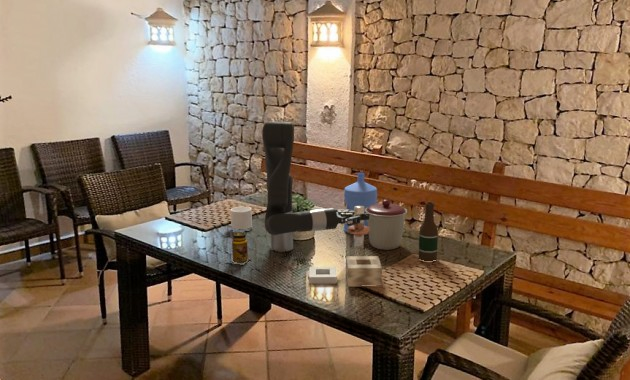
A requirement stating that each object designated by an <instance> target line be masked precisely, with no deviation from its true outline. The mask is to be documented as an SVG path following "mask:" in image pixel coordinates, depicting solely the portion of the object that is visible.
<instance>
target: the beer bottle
mask: <svg viewBox="0 0 630 380" xmlns="http://www.w3.org/2000/svg"><path fill="white" fill-rule="evenodd" d="M424 206H425V212H424V219H423V222H422V223H421V225H420V228H419V233H418V234H419V235H418V260H419V259H421V260H424V261H433V260H436V261H437V260H438V259H437V258H438V242H439V239H438V238H439V231H438V227H437V225H436V223H435V218H434V215H435V214H434V208H435V203H434V202H432V201H429V202H428V201H427V202H425V205H424Z"/></svg>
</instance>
